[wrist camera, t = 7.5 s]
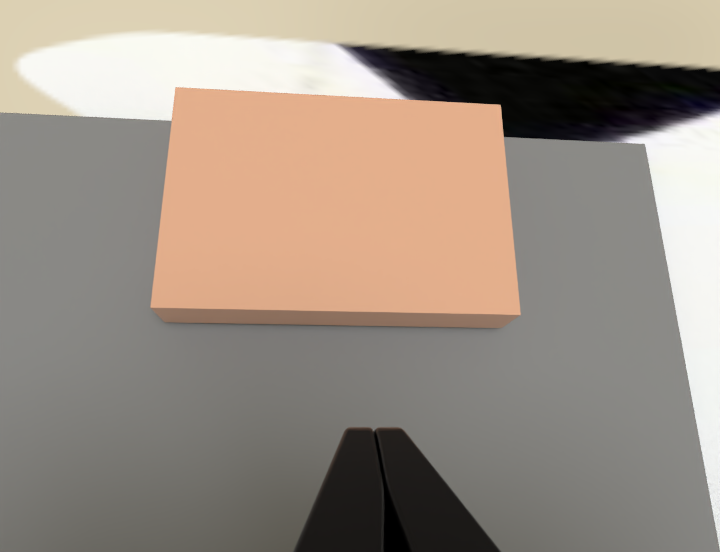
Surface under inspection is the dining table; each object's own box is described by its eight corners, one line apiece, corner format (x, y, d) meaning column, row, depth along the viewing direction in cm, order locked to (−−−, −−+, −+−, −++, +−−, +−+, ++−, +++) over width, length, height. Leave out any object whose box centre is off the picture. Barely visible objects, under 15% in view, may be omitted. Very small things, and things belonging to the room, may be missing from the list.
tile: (520, 314, 17) (500, 104, 20) (150, 307, 16) (175, 87, 19) (498, 329, 19) (482, 136, 22) (166, 324, 18) (187, 122, 21)
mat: (711, 553, 18) (720, 555, 18) (-96, 570, 16) (-105, 573, 15) (639, 149, 23) (644, 144, 22) (4, 119, 20) (-2, 112, 20)
